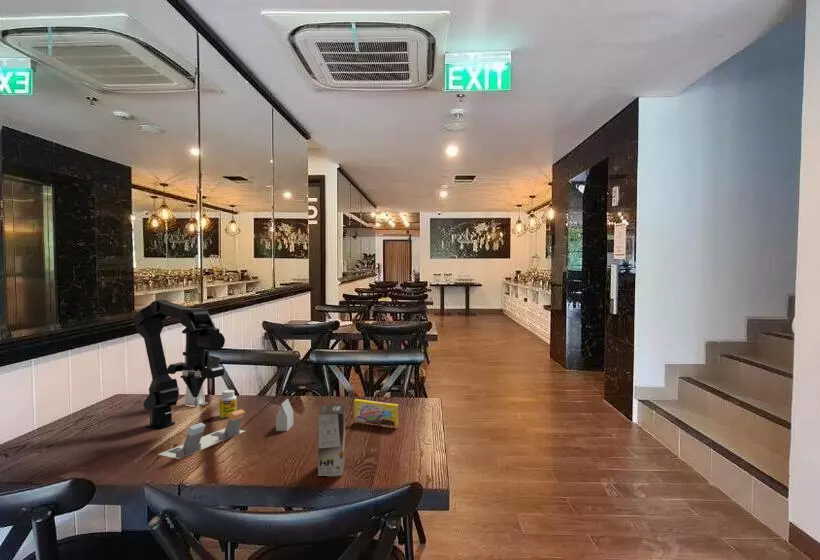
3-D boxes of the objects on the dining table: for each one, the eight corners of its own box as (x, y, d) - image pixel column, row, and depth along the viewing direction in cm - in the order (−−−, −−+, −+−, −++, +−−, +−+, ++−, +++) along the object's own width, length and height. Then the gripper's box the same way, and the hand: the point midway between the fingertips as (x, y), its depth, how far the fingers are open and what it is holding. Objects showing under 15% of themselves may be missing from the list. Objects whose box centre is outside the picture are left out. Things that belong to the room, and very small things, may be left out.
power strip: (157, 459, 128) (157, 447, 128) (226, 432, 151) (226, 422, 151) (179, 464, 125) (179, 452, 125) (245, 435, 148) (245, 425, 148)
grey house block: (293, 428, 155) (293, 398, 155) (287, 435, 148) (287, 404, 148) (282, 428, 155) (282, 398, 155) (275, 435, 148) (276, 404, 148)
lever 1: (180, 452, 127) (189, 426, 126) (193, 447, 131) (201, 422, 130) (184, 455, 127) (193, 429, 125) (197, 450, 130) (205, 425, 129)
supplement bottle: (221, 423, 160) (221, 393, 160) (218, 419, 164) (218, 390, 164) (238, 420, 163) (238, 391, 163) (234, 416, 168) (234, 388, 167)
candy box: (353, 423, 161) (353, 400, 161) (356, 422, 163) (356, 398, 163) (396, 430, 155) (396, 405, 155) (398, 428, 157) (399, 403, 157)
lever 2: (222, 435, 141) (231, 412, 140) (232, 431, 145) (241, 409, 143) (226, 438, 140) (235, 415, 139) (236, 434, 144) (245, 411, 143)
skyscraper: (178, 407, 180) (178, 334, 180) (191, 401, 188) (191, 332, 188) (197, 408, 179) (198, 335, 179) (210, 402, 187) (210, 333, 186)
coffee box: (343, 476, 118) (343, 413, 118) (317, 477, 118) (318, 413, 118) (345, 462, 127) (345, 403, 127) (321, 462, 127) (321, 404, 127)
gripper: (237, 346, 152) (236, 394, 152) (194, 343, 159) (194, 388, 159) (210, 351, 141) (210, 402, 142) (166, 347, 149) (166, 396, 149)
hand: (195, 397), depth 148 cm, fingers closed
